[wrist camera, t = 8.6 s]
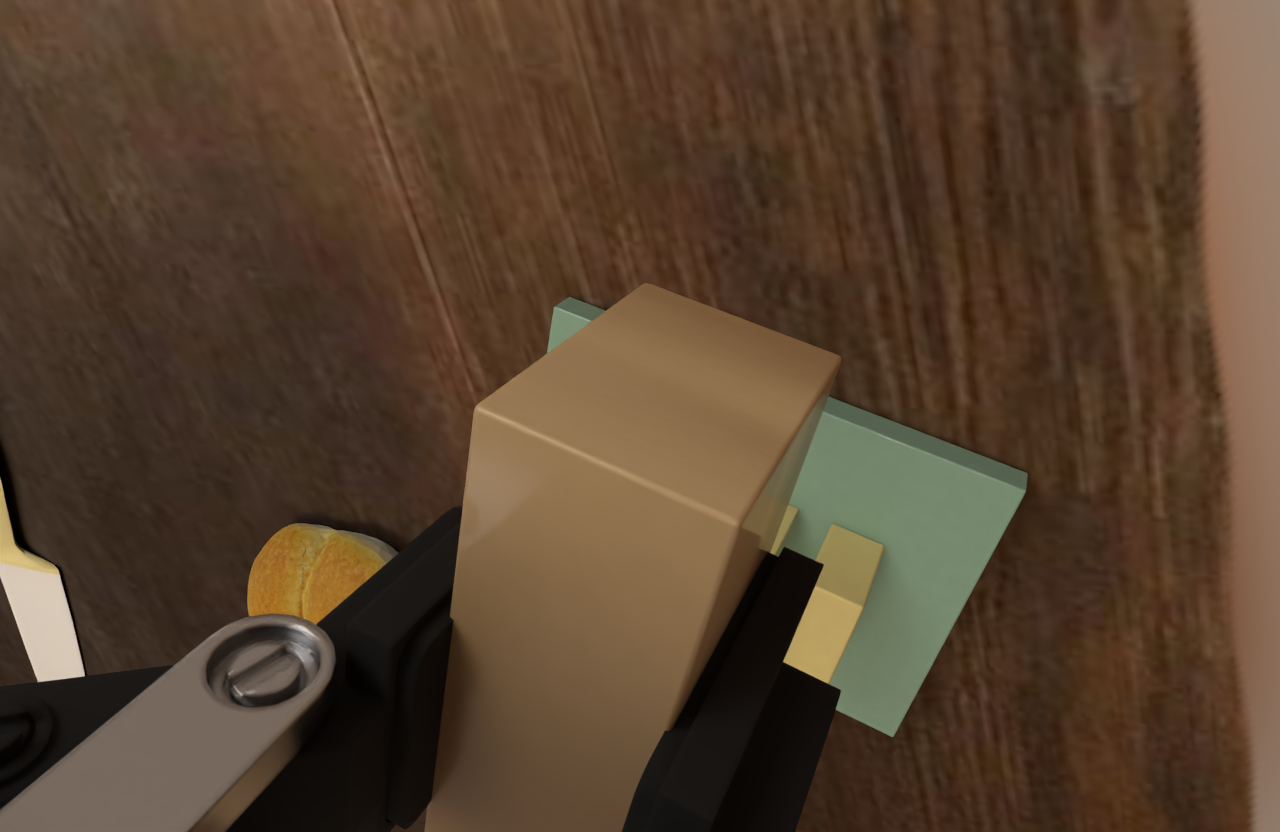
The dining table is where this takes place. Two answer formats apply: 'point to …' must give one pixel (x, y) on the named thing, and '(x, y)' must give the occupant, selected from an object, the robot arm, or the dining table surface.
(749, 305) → the dining table surface
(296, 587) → the bread roll
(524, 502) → the wooden handled knife
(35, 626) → the knife
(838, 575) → the butter slice
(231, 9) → the dining table surface
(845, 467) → the butter dish
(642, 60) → the dining table surface
